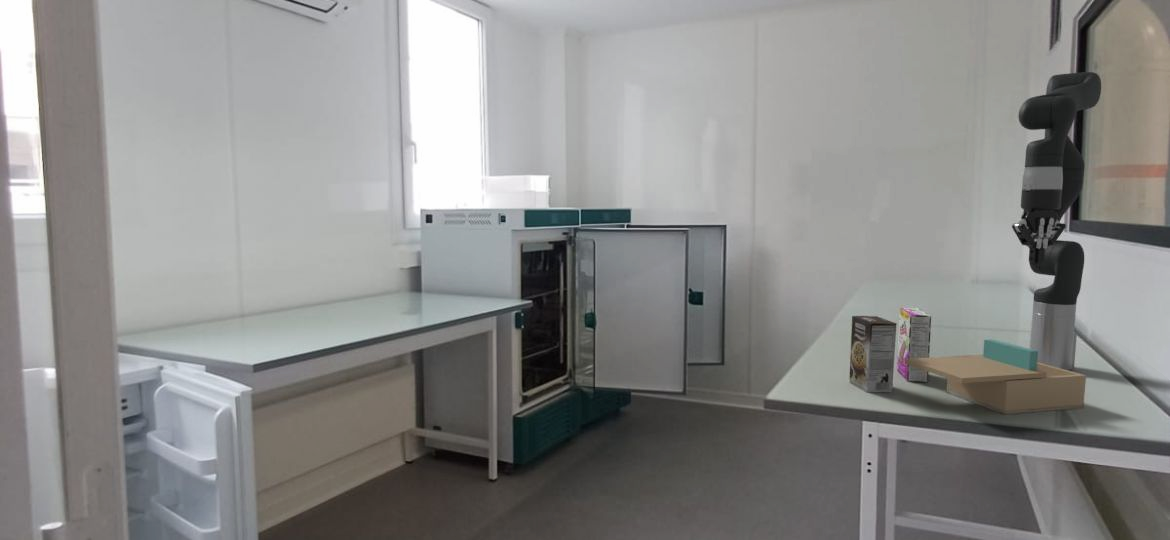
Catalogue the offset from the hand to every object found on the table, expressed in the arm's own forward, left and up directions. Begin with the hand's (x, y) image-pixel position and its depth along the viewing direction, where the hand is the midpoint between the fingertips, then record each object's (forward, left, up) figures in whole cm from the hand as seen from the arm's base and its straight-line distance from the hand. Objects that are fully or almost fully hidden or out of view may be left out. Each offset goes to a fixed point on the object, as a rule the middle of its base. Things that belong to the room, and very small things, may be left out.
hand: (1035, 264), depth 155 cm
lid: (+21, +6, -22) cm, 31 cm away
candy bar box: (+18, -16, -29) cm, 38 cm away
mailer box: (+10, +6, -29) cm, 31 cm away
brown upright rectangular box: (+34, -10, -29) cm, 46 cm away
